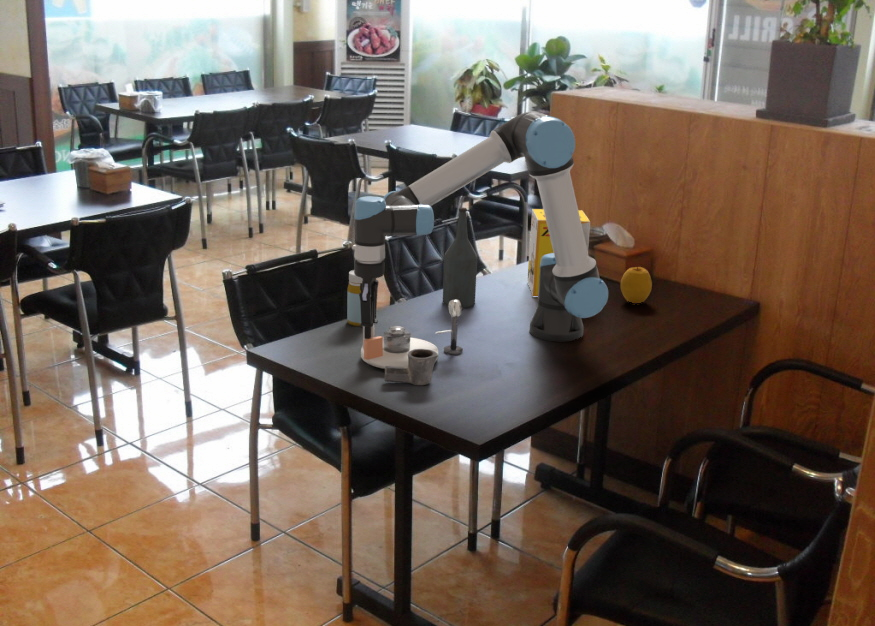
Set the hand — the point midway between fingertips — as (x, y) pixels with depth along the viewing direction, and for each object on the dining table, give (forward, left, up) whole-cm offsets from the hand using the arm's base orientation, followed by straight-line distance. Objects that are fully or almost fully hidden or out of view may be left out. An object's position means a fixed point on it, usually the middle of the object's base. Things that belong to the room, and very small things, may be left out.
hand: (368, 348), depth 247 cm
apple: (-71, -68, -4) cm, 99 cm away
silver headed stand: (-19, -12, -4) cm, 23 cm away
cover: (-6, -5, -1) cm, 8 cm away
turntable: (-7, -4, -3) cm, 8 cm away
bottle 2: (-17, -54, -4) cm, 57 cm away
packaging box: (-46, -75, -4) cm, 88 cm away
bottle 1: (+9, -30, -4) cm, 32 cm away
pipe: (-13, +11, -4) cm, 17 cm away
